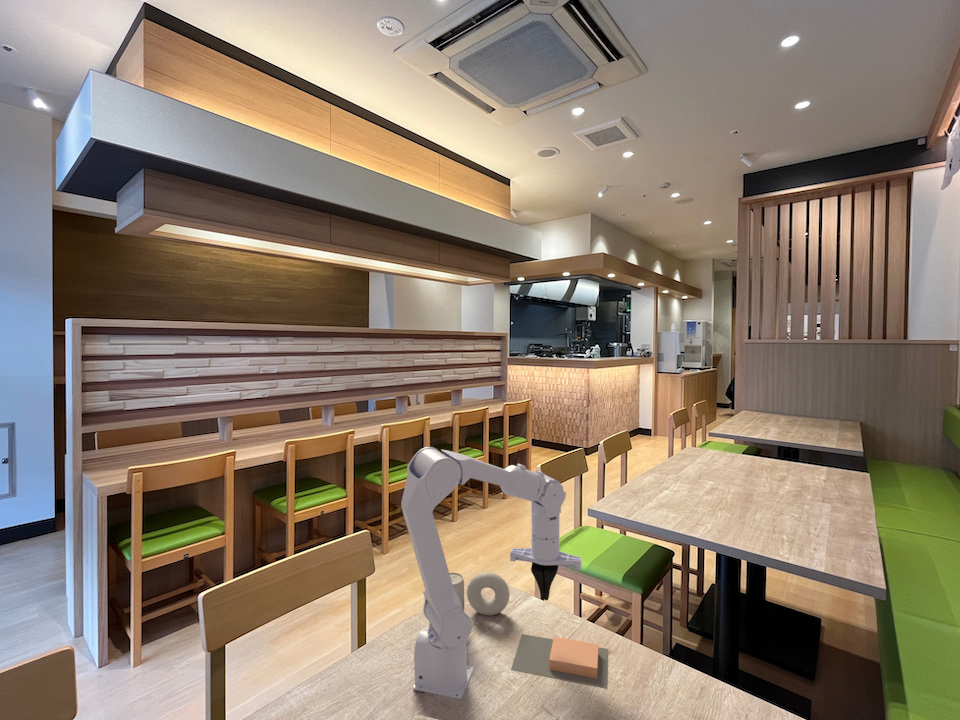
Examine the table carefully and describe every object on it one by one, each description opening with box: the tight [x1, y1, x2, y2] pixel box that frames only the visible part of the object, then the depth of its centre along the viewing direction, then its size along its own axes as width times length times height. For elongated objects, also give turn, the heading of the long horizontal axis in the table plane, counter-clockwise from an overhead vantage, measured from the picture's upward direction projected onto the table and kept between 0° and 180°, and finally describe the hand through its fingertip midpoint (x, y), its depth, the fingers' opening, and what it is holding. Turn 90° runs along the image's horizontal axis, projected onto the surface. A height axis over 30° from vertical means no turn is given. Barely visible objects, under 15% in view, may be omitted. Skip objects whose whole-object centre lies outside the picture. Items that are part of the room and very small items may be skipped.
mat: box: [510, 633, 609, 689], centre depth 94 cm, size 18×11×1 cm, turn 74°
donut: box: [466, 571, 510, 617], centre depth 109 cm, size 10×4×10 cm, turn 82°
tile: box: [549, 636, 599, 678], centre depth 93 cm, size 2×7×9 cm
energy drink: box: [449, 572, 465, 612], centre depth 103 cm, size 5×5×12 cm
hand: (545, 597), depth 98 cm, fingers closed
